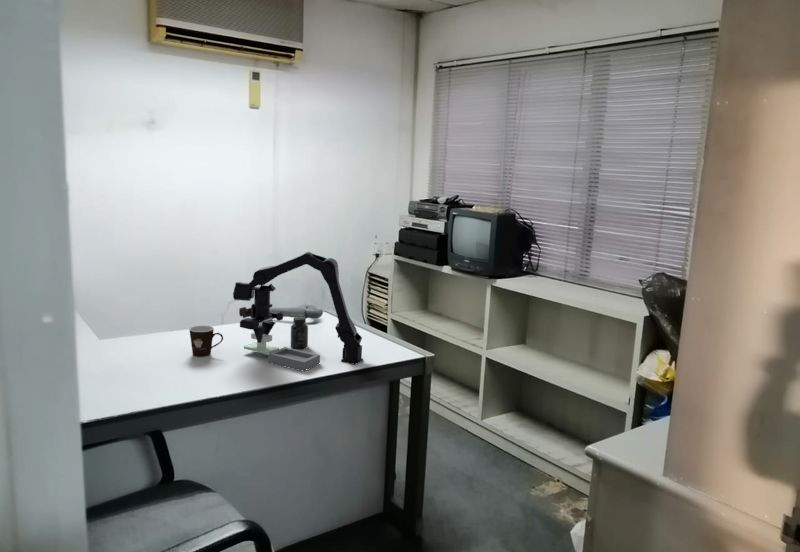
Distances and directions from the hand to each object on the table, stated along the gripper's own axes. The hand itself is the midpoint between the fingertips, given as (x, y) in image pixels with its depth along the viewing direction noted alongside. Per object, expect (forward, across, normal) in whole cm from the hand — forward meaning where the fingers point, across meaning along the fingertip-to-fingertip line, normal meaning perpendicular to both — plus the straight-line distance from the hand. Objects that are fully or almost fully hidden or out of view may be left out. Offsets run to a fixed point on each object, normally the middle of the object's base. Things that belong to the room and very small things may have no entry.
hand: (261, 341), depth 229 cm
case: (+5, +1, +16) cm, 17 cm away
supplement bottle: (+5, -16, +6) cm, 18 cm away
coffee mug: (+5, +13, -16) cm, 21 cm away
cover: (+3, 0, 0) cm, 3 cm away
